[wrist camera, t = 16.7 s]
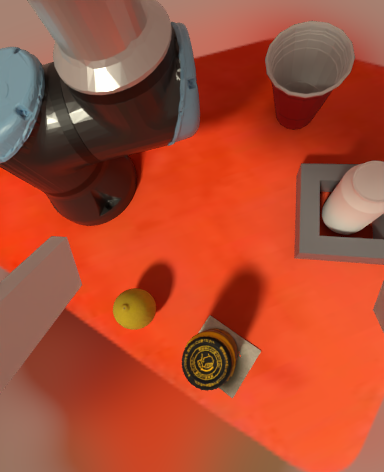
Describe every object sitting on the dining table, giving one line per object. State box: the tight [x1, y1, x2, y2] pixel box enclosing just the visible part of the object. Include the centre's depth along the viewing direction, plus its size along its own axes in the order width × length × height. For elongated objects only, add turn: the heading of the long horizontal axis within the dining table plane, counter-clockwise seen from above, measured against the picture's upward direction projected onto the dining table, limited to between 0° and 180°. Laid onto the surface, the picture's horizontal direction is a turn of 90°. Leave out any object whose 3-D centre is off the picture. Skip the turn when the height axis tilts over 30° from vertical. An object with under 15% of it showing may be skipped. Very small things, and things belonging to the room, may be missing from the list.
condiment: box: [182, 316, 261, 398], centre depth 36 cm, size 7×8×12 cm
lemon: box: [113, 288, 156, 329], centre depth 41 cm, size 6×6×8 cm
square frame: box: [295, 164, 384, 265], centre depth 42 cm, size 13×13×4 cm
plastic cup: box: [265, 21, 355, 129], centre depth 43 cm, size 11×11×12 cm
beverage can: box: [322, 161, 384, 235], centre depth 38 cm, size 6×6×12 cm
